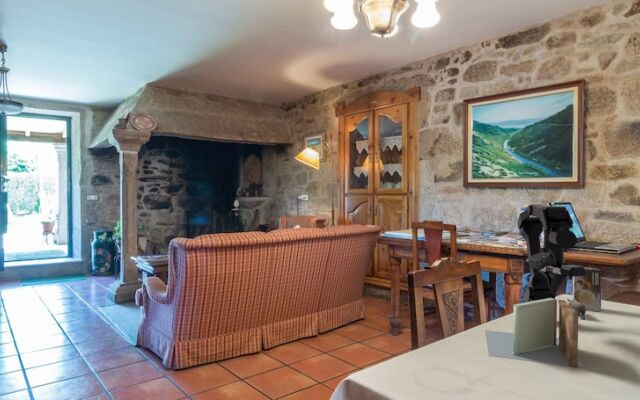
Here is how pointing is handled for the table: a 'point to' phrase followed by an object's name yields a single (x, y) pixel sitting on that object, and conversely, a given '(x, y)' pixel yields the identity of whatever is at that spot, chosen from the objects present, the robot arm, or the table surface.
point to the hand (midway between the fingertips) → (553, 293)
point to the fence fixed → (568, 332)
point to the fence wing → (534, 325)
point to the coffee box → (588, 289)
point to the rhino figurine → (578, 307)
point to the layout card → (503, 347)
